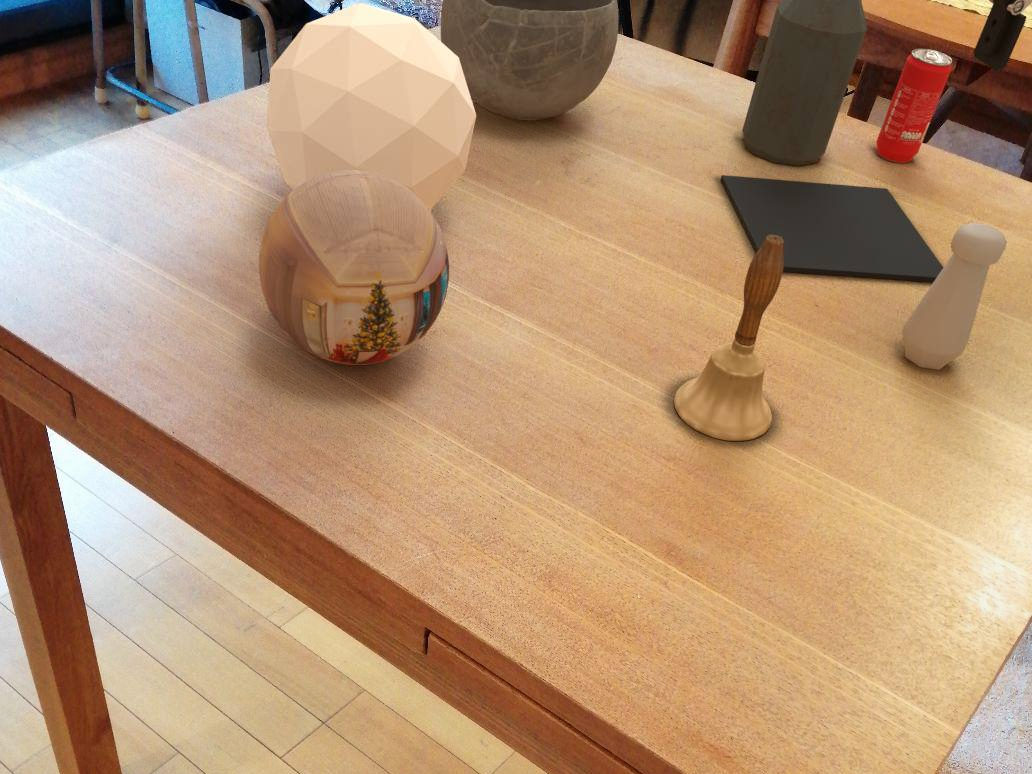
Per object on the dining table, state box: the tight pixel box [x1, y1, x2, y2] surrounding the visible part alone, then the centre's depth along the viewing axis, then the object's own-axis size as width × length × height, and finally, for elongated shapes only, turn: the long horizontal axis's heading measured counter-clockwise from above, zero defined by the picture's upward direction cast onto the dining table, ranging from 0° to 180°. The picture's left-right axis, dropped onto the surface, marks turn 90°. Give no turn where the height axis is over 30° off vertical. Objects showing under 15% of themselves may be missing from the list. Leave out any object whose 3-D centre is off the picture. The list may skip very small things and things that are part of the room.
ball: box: [266, 2, 477, 211], centre depth 103 cm, size 19×20×20 cm
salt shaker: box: [902, 221, 1008, 371], centre depth 97 cm, size 6×6×13 cm
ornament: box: [258, 170, 450, 366], centre depth 87 cm, size 15×15×15 cm
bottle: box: [741, 0, 868, 167], centre depth 123 cm, size 10×10×30 cm
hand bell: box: [673, 235, 784, 442], centre depth 86 cm, size 8×8×16 cm
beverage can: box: [876, 48, 953, 164], centre depth 131 cm, size 5×5×12 cm
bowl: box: [440, 0, 619, 121], centre depth 127 cm, size 20×20×15 cm
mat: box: [720, 174, 944, 283], centre depth 118 cm, size 20×20×1 cm
